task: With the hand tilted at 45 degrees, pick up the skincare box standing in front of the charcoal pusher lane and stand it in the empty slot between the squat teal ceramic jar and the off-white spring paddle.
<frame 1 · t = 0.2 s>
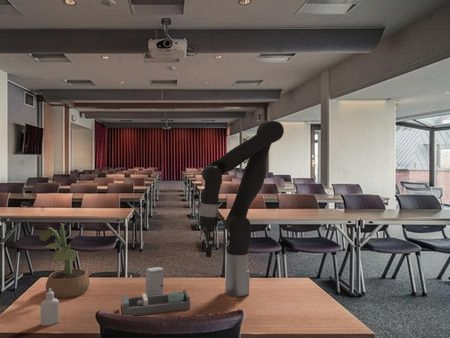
hand: (205, 254, 157), 18 cm above the table, tool pointing down, fingers open, 8 cm apart
teal jar: (175, 304, 146), point 1 cm above the table, touching pusher lane
pusher lane: (155, 309, 144), on the table
skincare box: (154, 298, 155), on the table
potted plant: (64, 295, 157), on the table
spring paddle: (142, 302, 142), point 3 cm above the table, slide at 0.0 cm
eye dropper bottle: (49, 323, 131), on the table
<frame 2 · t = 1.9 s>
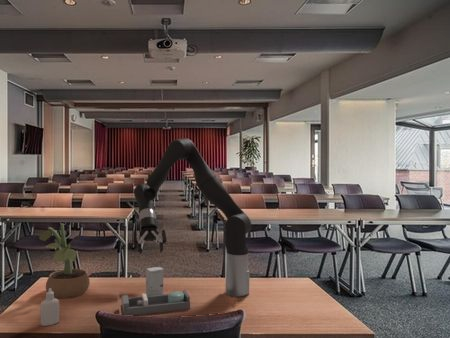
hand: (150, 252, 165), 16 cm above the table, tool tilted 45°, fingers open, 8 cm apart
nothing on the table moved.
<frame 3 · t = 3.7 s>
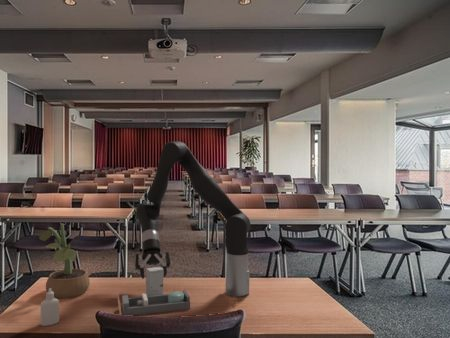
hand: (154, 277, 156), 8 cm above the table, tool tilted 45°, fingers open, 8 cm apart
nothing on the table moved.
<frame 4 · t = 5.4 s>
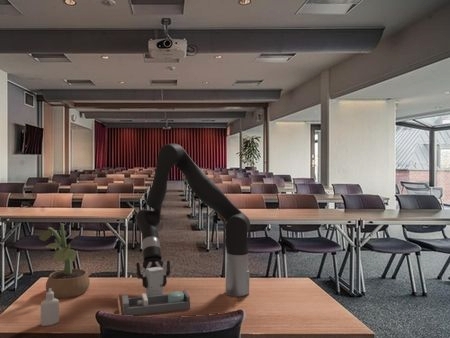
hand: (155, 286, 153), 5 cm above the table, tool tilted 45°, fingers closed on skincare box, 6 cm apart
skincare box: (154, 298, 154), on the table, touching gripper
everything else where it was.
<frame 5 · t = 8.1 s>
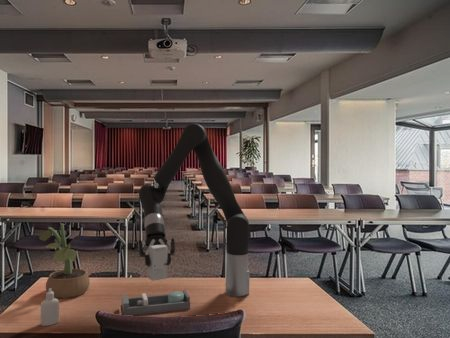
hand: (158, 265, 142), 17 cm above the table, tool tilted 45°, fingers closed on skincare box, 6 cm apart
skincare box: (157, 278, 144), point 12 cm above the table, touching gripper
everything else where it was.
when the fingers open (8 cm above the table, at t = 11.2 s): skincare box drops 2 cm, resting on pusher lane.
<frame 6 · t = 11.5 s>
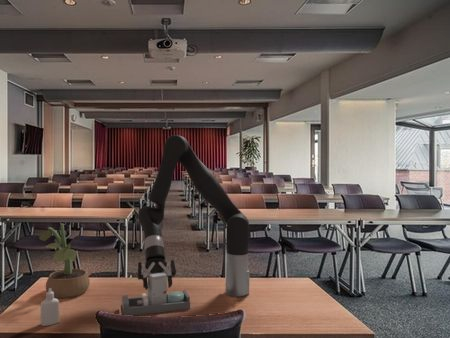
hand: (158, 287, 142), 9 cm above the table, tool tilted 45°, fingers open, 8 cm apart
skincare box: (157, 306, 144), point 1 cm above the table, touching pusher lane
everything else where it was.
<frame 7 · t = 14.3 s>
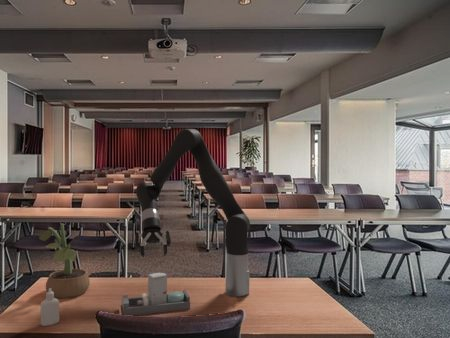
hand: (154, 255, 153), 18 cm above the table, tool tilted 45°, fingers open, 8 cm apart
nothing on the table moved.
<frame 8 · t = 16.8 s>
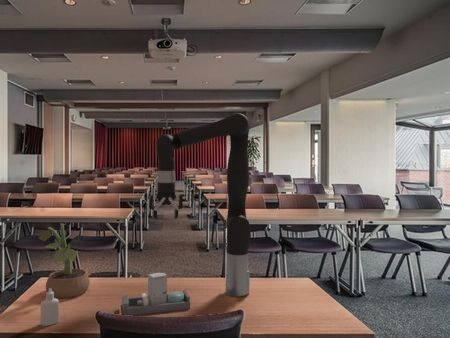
hand: (165, 218, 165), 30 cm above the table, tool pointing down, fingers open, 8 cm apart
nothing on the table moved.
at the end: skincare box 0.4 cm off-centre on the pusher lane, point 0.8 cm above the pusher lane's base; skincare box tilted 0°; the gripper is holding nothing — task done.
